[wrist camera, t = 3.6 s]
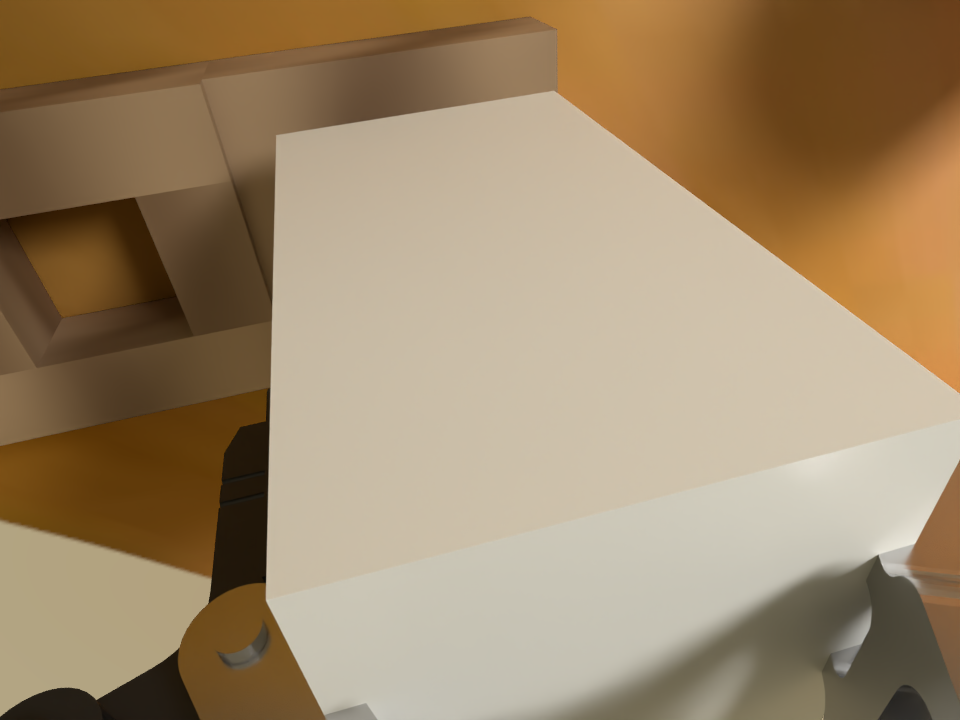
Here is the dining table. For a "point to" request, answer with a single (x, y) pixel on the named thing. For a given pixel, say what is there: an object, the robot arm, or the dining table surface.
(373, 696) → the block
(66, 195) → the board
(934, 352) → the dining table surface
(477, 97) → the board
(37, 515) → the dining table surface
